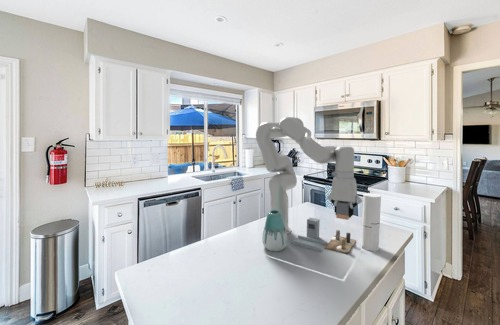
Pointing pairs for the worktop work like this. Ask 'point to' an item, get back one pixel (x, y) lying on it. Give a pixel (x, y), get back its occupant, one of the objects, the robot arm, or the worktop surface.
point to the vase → (274, 232)
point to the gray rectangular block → (313, 228)
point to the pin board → (334, 244)
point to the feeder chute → (310, 243)
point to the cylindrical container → (371, 221)
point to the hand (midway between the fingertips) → (343, 215)
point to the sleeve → (342, 210)
